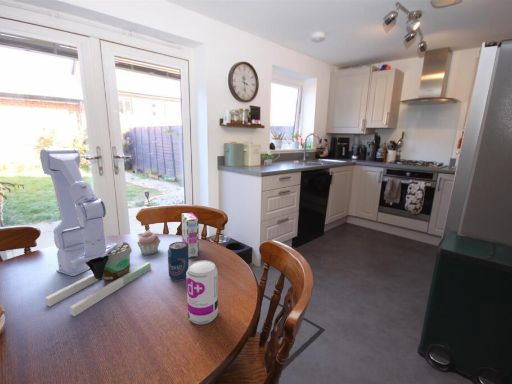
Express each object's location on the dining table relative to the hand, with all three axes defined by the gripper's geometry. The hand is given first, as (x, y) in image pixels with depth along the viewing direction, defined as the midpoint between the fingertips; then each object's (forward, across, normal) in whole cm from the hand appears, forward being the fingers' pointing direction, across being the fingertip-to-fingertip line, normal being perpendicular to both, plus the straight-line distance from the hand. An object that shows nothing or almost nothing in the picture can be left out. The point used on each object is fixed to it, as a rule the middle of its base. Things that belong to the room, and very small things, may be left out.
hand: (98, 278), depth 81 cm
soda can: (+4, +16, -19) cm, 25 cm away
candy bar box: (+4, +34, -11) cm, 36 cm away
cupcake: (+4, +27, +5) cm, 28 cm away
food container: (+4, +8, 0) cm, 9 cm away
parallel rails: (+3, +2, 0) cm, 4 cm away
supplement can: (+4, +2, -38) cm, 38 cm away
